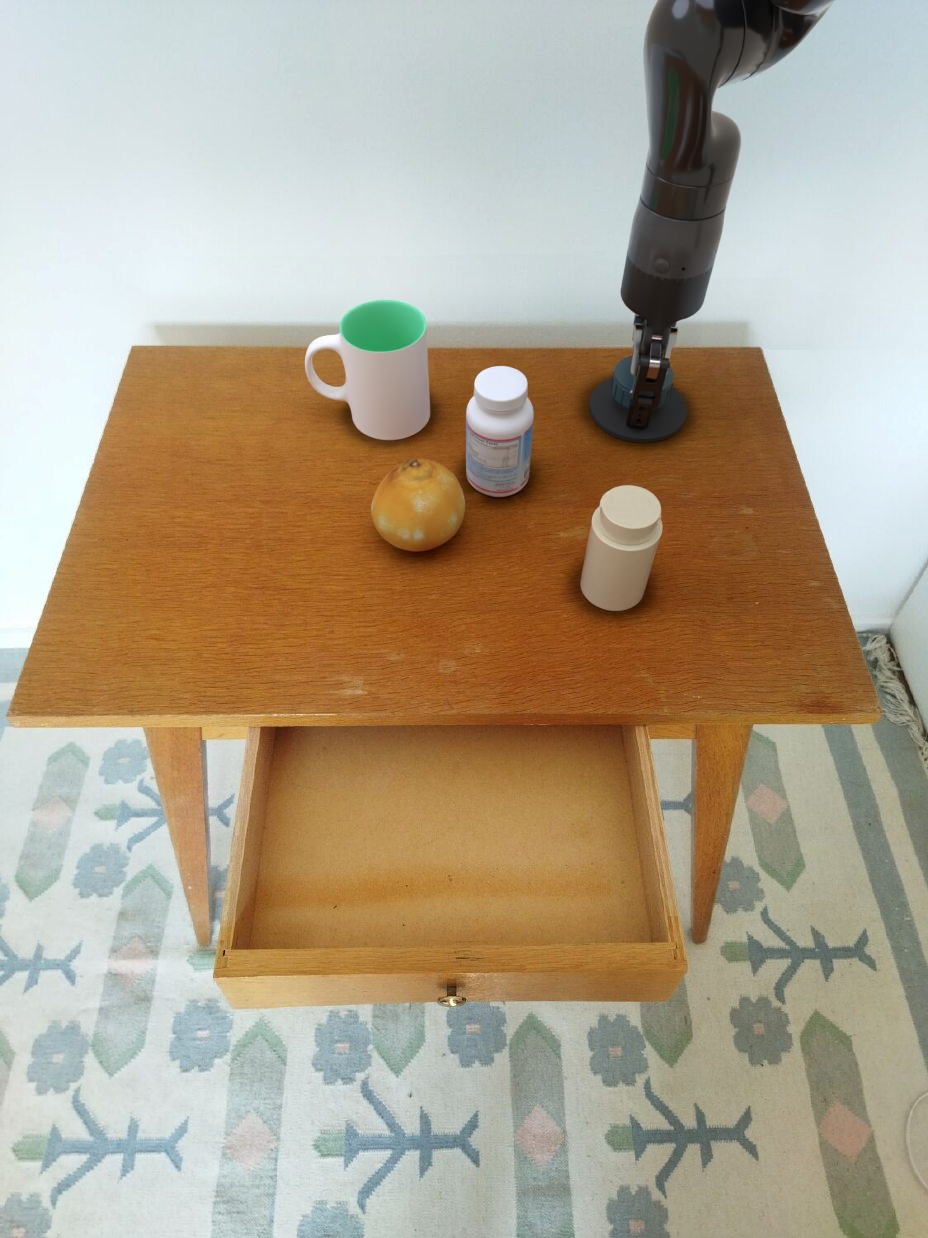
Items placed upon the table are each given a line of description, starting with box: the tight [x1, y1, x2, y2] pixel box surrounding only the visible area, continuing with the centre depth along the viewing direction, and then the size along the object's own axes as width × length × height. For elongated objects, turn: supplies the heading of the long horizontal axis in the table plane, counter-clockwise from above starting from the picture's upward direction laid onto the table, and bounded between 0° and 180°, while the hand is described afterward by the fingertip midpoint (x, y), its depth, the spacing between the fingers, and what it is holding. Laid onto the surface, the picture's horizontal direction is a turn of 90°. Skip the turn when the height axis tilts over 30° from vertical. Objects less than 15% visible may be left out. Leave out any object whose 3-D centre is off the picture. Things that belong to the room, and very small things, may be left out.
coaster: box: [588, 377, 688, 444], centre depth 85 cm, size 10×10×1 cm
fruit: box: [370, 457, 466, 552], centre depth 73 cm, size 8×8×8 cm
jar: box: [579, 484, 663, 612], centre depth 68 cm, size 6×6×10 cm
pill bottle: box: [465, 365, 535, 498], centre depth 75 cm, size 6×6×11 cm
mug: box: [304, 299, 431, 441], centre depth 80 cm, size 12×8×10 cm
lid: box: [611, 355, 675, 410], centre depth 82 cm, size 6×6×2 cm
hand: (637, 404), depth 84 cm, fingers closed on lid, 6 cm apart
